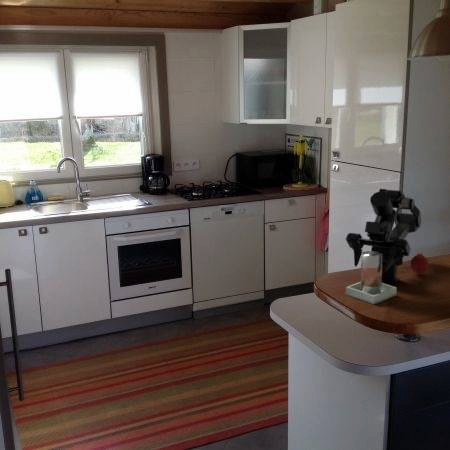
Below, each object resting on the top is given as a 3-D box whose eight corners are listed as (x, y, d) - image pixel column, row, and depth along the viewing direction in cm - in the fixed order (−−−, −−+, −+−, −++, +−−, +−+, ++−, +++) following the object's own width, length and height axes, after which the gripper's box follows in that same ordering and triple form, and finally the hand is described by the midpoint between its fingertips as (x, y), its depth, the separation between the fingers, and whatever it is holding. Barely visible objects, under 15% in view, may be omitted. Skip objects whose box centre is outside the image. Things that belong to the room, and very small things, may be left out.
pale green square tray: (368, 286, 174) (368, 278, 173) (396, 295, 166) (396, 287, 165) (346, 294, 168) (346, 286, 167) (373, 304, 160) (374, 296, 159)
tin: (376, 288, 170) (377, 250, 167) (384, 295, 164) (385, 256, 161) (358, 290, 169) (358, 251, 166) (365, 297, 164) (365, 257, 161)
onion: (429, 278, 178) (430, 255, 177) (411, 277, 180) (412, 254, 178) (426, 272, 184) (427, 249, 182) (408, 271, 185) (409, 249, 183)
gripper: (348, 207, 169) (333, 250, 163) (409, 213, 158) (395, 260, 152) (357, 226, 177) (343, 268, 171) (415, 233, 166) (403, 278, 160)
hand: (369, 268), depth 163 cm, fingers open, 9 cm apart
